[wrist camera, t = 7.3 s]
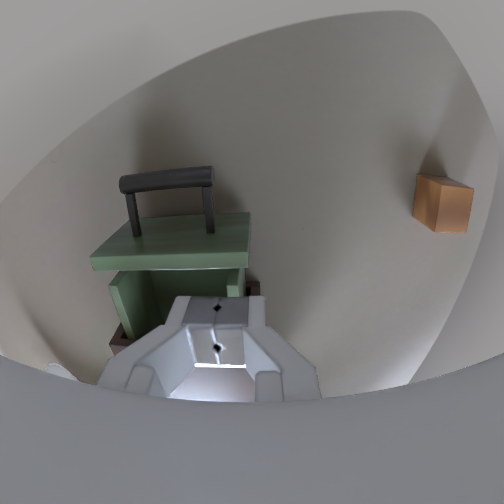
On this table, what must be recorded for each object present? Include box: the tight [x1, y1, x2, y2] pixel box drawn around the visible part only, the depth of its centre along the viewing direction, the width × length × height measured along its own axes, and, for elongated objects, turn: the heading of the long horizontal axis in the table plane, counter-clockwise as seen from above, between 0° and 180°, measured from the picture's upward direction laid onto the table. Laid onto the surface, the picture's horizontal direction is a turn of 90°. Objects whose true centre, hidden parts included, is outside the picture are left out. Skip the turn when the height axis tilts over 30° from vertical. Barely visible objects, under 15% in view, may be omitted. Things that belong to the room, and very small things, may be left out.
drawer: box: [89, 166, 251, 340], centre depth 23 cm, size 20×12×8 cm, turn 2°
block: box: [412, 174, 474, 233], centre depth 22 cm, size 4×4×4 cm
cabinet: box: [109, 282, 260, 402], centre depth 28 cm, size 16×13×10 cm
